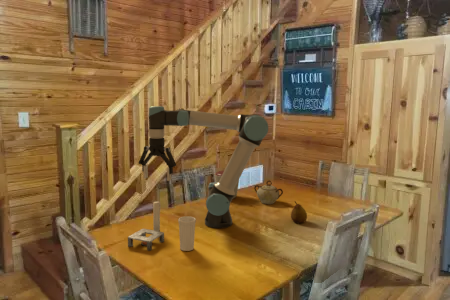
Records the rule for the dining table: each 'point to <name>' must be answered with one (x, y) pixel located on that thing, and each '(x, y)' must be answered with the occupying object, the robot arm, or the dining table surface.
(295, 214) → the fruit
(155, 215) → the beige rod
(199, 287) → the dining table surface
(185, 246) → the cup
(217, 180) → the canister
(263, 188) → the sugar bowl
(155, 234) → the stand
